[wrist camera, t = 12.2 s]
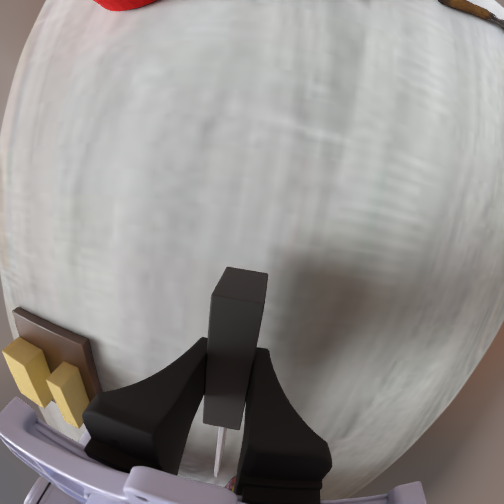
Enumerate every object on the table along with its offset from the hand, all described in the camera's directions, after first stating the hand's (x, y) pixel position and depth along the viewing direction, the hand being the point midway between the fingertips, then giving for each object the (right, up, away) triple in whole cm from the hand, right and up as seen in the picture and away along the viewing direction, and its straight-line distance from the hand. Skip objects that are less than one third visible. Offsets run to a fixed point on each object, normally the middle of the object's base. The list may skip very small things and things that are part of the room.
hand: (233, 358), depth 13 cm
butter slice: (-15, -7, +7) cm, 18 cm away
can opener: (+19, +20, -5) cm, 28 cm away
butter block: (-21, -6, +7) cm, 23 cm away
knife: (0, -3, +3) cm, 4 cm away
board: (-18, -7, +8) cm, 21 cm away
